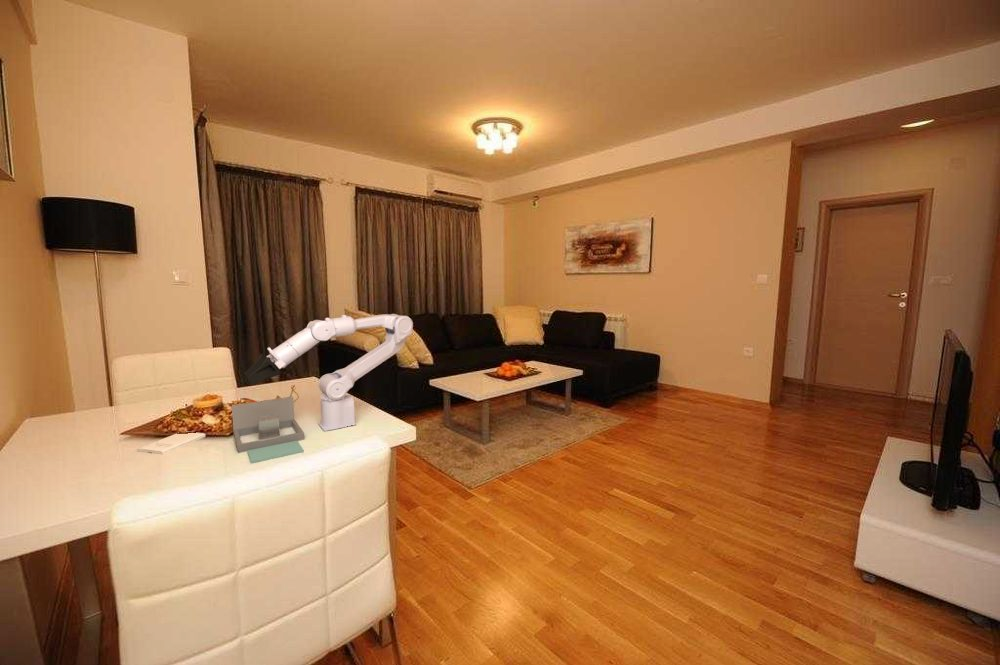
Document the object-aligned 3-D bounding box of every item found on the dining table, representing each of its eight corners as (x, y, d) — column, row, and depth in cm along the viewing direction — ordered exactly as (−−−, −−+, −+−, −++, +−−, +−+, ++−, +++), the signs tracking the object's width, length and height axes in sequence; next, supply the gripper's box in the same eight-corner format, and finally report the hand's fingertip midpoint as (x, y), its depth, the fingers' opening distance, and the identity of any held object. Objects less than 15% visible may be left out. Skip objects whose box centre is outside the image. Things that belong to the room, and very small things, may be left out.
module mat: (297, 442, 115) (297, 440, 115) (303, 451, 109) (303, 450, 109) (247, 452, 108) (247, 450, 108) (250, 463, 102) (250, 461, 102)
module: (277, 434, 121) (276, 414, 121) (279, 438, 118) (278, 418, 117) (258, 437, 118) (256, 417, 118) (259, 442, 115) (258, 421, 114)
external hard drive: (205, 438, 119) (163, 456, 107) (182, 436, 120) (137, 453, 108) (205, 433, 118) (162, 450, 106) (181, 430, 120) (136, 447, 108)
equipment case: (294, 424, 129) (292, 396, 128) (304, 439, 117) (302, 408, 116) (233, 435, 120) (231, 405, 119) (238, 452, 108) (235, 419, 107)
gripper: (278, 335, 123) (235, 364, 117) (288, 340, 112) (241, 372, 105) (294, 353, 126) (252, 382, 120) (305, 360, 115) (259, 392, 108)
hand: (248, 379), depth 113 cm, fingers open, 7 cm apart
